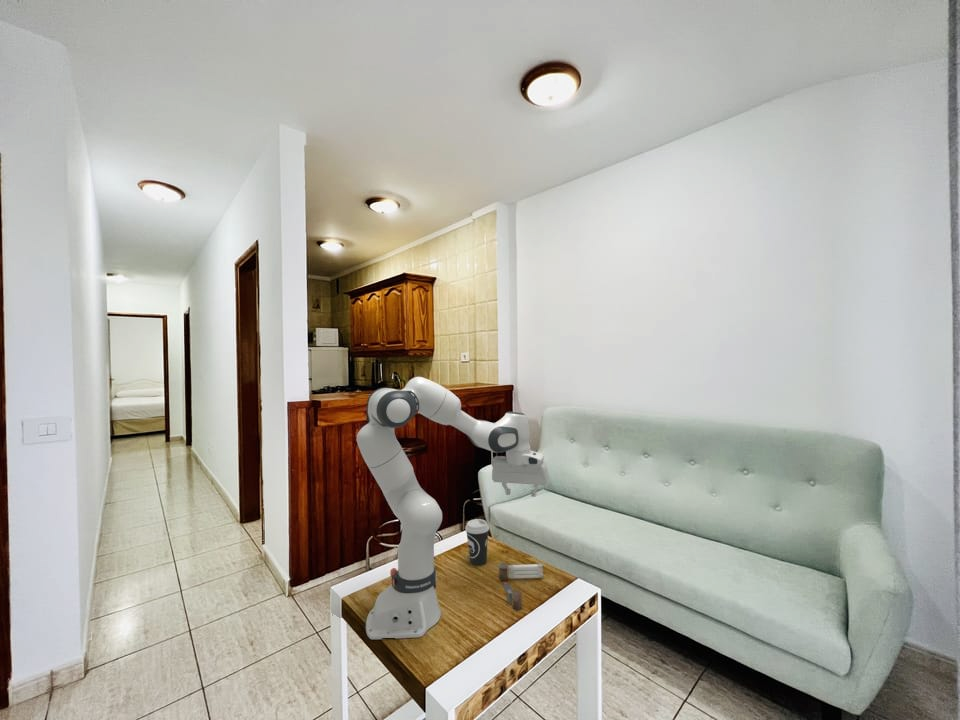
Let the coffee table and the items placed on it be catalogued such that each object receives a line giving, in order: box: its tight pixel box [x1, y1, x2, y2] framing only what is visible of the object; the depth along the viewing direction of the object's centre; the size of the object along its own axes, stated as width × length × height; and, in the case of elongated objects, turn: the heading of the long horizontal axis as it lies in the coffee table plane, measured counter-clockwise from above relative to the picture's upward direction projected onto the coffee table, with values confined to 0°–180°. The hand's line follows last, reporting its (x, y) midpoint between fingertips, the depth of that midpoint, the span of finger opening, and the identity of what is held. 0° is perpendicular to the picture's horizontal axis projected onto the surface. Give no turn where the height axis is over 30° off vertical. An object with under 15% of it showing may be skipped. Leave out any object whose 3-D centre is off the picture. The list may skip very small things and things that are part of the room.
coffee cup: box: [464, 518, 490, 567], centre depth 149 cm, size 10×10×15 cm
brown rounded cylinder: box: [506, 589, 523, 611], centre depth 121 cm, size 4×5×5 cm, turn 13°
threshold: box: [502, 583, 514, 601], centre depth 128 cm, size 2×9×1 cm, turn 12°
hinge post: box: [498, 562, 509, 583], centre depth 136 cm, size 3×3×5 cm
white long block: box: [508, 563, 544, 579], centre depth 136 cm, size 12×2×4 cm, turn 90°
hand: (520, 495), depth 136 cm, fingers open, 8 cm apart
